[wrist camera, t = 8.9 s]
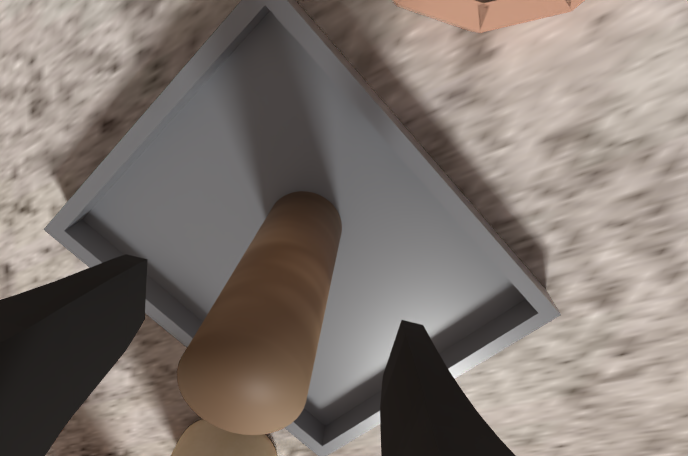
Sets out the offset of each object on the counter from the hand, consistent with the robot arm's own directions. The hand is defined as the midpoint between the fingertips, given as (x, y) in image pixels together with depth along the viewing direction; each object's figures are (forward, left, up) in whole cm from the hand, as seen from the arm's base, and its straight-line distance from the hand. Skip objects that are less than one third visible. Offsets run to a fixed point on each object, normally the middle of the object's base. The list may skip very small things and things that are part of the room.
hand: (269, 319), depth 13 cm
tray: (-1, +1, -7) cm, 7 cm away
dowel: (0, 0, -6) cm, 6 cm away
